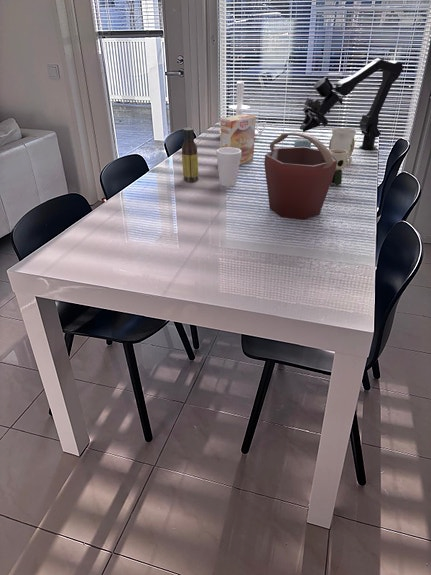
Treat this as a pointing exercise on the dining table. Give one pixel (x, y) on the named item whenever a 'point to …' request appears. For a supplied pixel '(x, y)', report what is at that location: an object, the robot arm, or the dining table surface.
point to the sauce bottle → (189, 156)
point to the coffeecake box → (239, 135)
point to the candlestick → (241, 107)
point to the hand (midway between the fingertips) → (301, 130)
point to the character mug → (339, 164)
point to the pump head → (303, 126)
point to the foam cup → (228, 165)
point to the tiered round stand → (302, 143)
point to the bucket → (298, 178)
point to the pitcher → (343, 140)
